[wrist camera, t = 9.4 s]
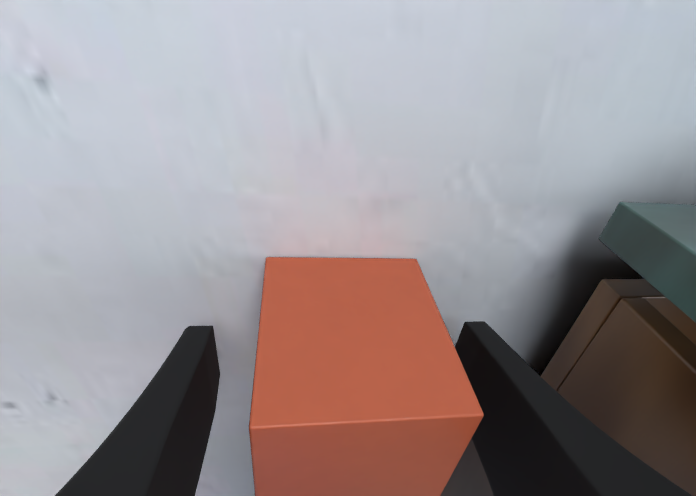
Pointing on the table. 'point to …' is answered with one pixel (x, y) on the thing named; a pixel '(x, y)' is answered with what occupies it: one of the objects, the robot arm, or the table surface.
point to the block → (355, 382)
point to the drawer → (640, 342)
